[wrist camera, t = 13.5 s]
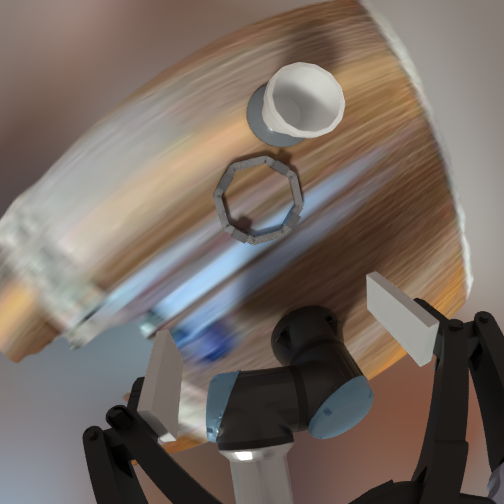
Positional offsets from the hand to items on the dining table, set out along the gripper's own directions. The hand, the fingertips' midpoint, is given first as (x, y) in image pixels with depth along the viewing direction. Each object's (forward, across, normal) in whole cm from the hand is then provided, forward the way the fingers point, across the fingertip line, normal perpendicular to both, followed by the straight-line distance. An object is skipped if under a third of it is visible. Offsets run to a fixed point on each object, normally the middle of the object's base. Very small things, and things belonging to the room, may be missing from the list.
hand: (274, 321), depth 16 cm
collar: (+30, +4, +2) cm, 30 cm away
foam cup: (+29, +11, +16) cm, 35 cm away
